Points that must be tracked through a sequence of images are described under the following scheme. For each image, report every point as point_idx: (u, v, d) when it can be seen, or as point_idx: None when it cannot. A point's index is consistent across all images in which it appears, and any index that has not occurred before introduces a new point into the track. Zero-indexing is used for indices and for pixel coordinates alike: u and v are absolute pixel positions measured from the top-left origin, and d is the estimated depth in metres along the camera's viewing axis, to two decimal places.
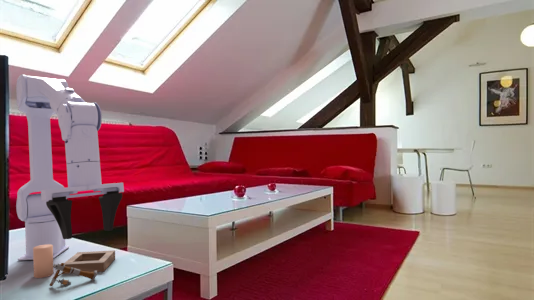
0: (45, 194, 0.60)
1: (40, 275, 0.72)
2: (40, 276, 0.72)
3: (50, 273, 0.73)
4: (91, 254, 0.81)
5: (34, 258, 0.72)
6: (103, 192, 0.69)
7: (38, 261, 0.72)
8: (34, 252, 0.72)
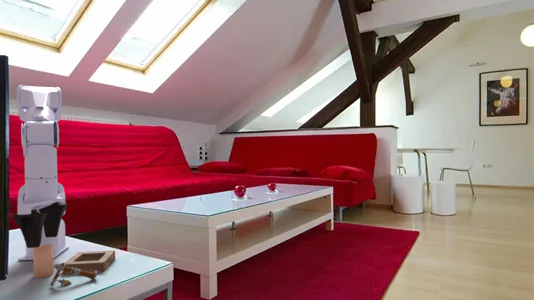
0: (27, 209, 0.66)
1: (40, 275, 0.72)
2: (40, 276, 0.72)
3: (50, 273, 0.73)
4: (91, 254, 0.81)
5: (34, 258, 0.72)
6: (51, 203, 0.77)
7: (38, 261, 0.72)
8: (34, 252, 0.72)
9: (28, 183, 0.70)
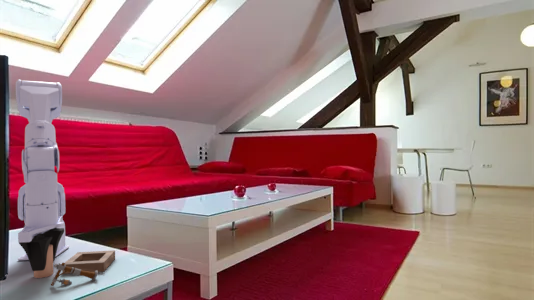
0: (28, 236, 0.66)
1: (40, 275, 0.72)
2: (40, 276, 0.72)
3: (50, 273, 0.73)
4: (91, 254, 0.81)
5: None
6: None
7: None
8: None
9: (29, 209, 0.71)
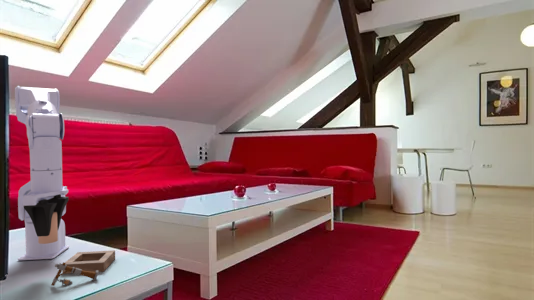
0: (32, 200, 0.67)
1: (45, 241, 0.72)
2: (45, 242, 0.72)
3: (54, 239, 0.74)
4: (91, 254, 0.81)
5: None
6: (56, 195, 0.77)
7: None
8: None
9: (33, 175, 0.71)
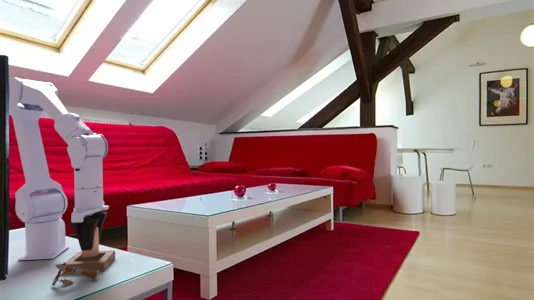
0: (80, 217, 0.71)
1: (88, 254, 0.77)
2: (88, 255, 0.77)
3: (96, 253, 0.78)
4: None
5: None
6: None
7: None
8: None
9: (78, 193, 0.76)
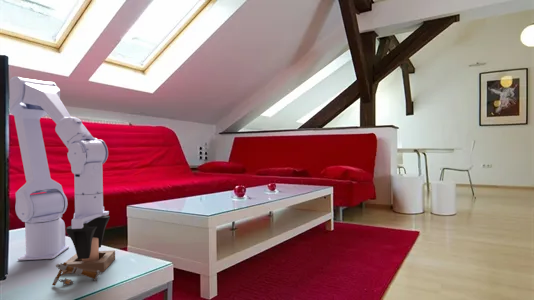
0: (80, 223, 0.71)
1: None
2: None
3: None
4: None
5: None
6: None
7: None
8: None
9: (78, 198, 0.76)
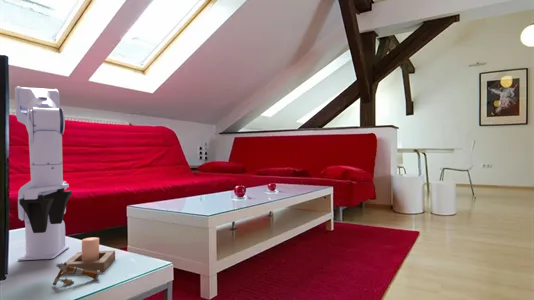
0: (34, 194, 0.67)
1: None
2: None
3: None
4: None
5: (83, 250, 0.77)
6: (55, 190, 0.77)
7: (86, 253, 0.77)
8: (83, 244, 0.77)
9: (34, 169, 0.71)
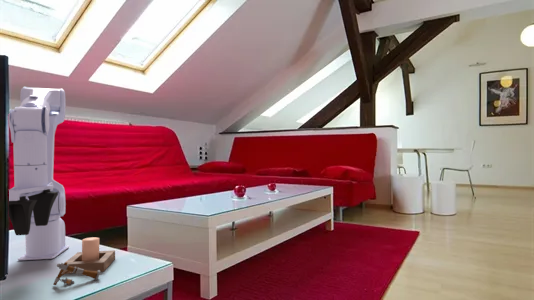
0: (15, 195, 0.65)
1: None
2: None
3: None
4: None
5: (83, 250, 0.77)
6: (41, 191, 0.75)
7: (87, 253, 0.77)
8: (83, 244, 0.77)
9: (17, 170, 0.69)
